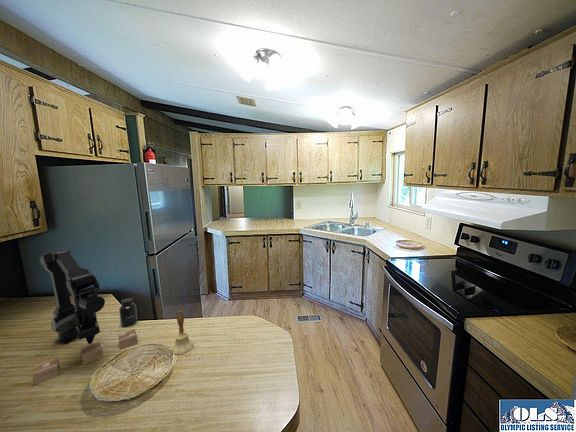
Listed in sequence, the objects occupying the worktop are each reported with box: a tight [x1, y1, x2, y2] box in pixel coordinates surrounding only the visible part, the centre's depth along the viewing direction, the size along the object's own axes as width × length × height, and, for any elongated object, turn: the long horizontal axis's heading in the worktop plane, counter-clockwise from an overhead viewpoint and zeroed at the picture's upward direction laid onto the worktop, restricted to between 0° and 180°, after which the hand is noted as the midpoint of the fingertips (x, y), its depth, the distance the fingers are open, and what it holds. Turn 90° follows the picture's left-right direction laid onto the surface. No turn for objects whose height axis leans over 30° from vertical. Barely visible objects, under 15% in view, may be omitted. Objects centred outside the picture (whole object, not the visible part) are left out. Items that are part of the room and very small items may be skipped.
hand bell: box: [171, 309, 194, 355], centre depth 98 cm, size 8×8×16 cm
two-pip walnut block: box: [118, 328, 139, 350], centre depth 103 cm, size 6×6×4 cm
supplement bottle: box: [118, 297, 138, 328], centre depth 118 cm, size 7×7×12 cm
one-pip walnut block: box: [32, 356, 61, 385], centre depth 87 cm, size 6×6×4 cm
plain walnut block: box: [79, 341, 104, 366], centre depth 95 cm, size 6×6×4 cm
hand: (90, 343), depth 95 cm, fingers closed
